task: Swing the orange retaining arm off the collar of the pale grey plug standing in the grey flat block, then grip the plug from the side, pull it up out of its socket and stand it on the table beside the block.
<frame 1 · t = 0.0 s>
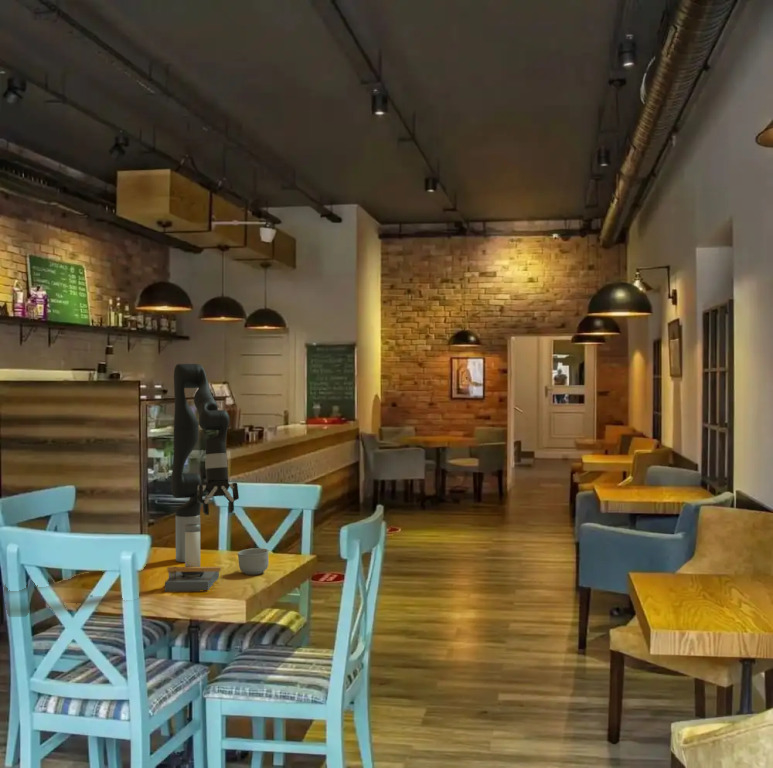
hand: (218, 513, 300), 22 cm above the table, tool pointing down, fingers open, 8 cm apart
plug: (192, 584, 292), resting in grey flat block
grey flat block: (192, 584, 292), on the table
teacup: (253, 572, 310), on the table
clip: (194, 569, 288), point 6 cm above the table, hinge at 0.0°
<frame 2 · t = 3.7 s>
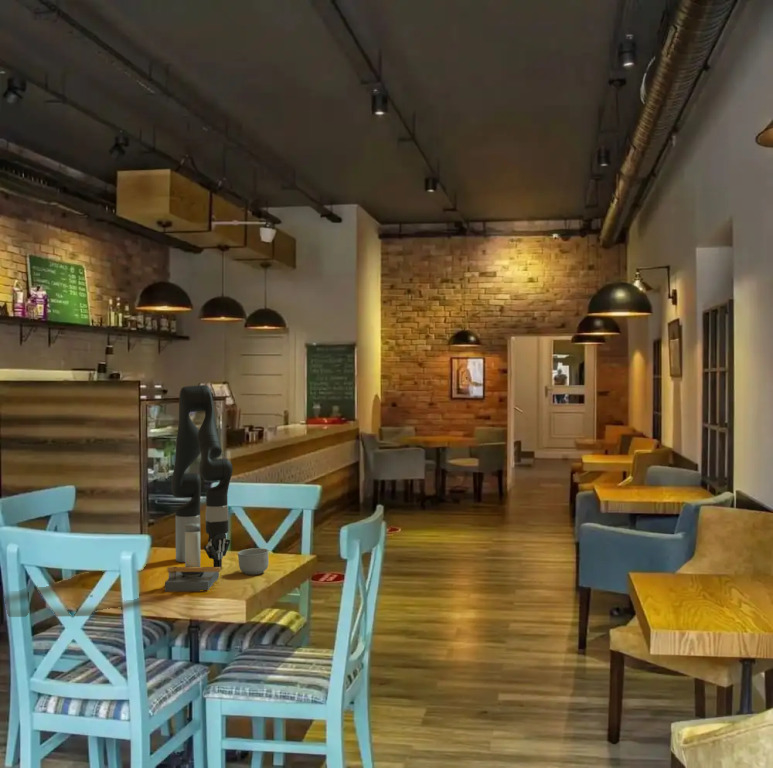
hand: (217, 570, 290), 5 cm above the table, tool pointing down, fingers closed
clip: (193, 569, 288), point 6 cm above the table, hinge at -1.3°, touching gripper
everything else where it was.
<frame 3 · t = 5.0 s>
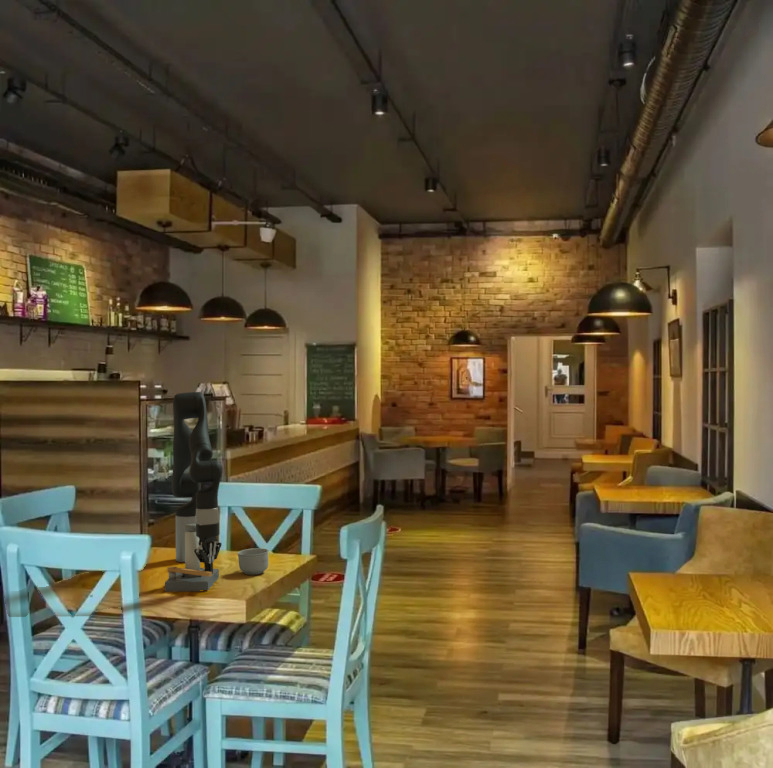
hand: (208, 574, 284), 5 cm above the table, tool pointing down, fingers closed
clip: (189, 571, 285), point 6 cm above the table, hinge at -28.8°, touching gripper
everything else where it was.
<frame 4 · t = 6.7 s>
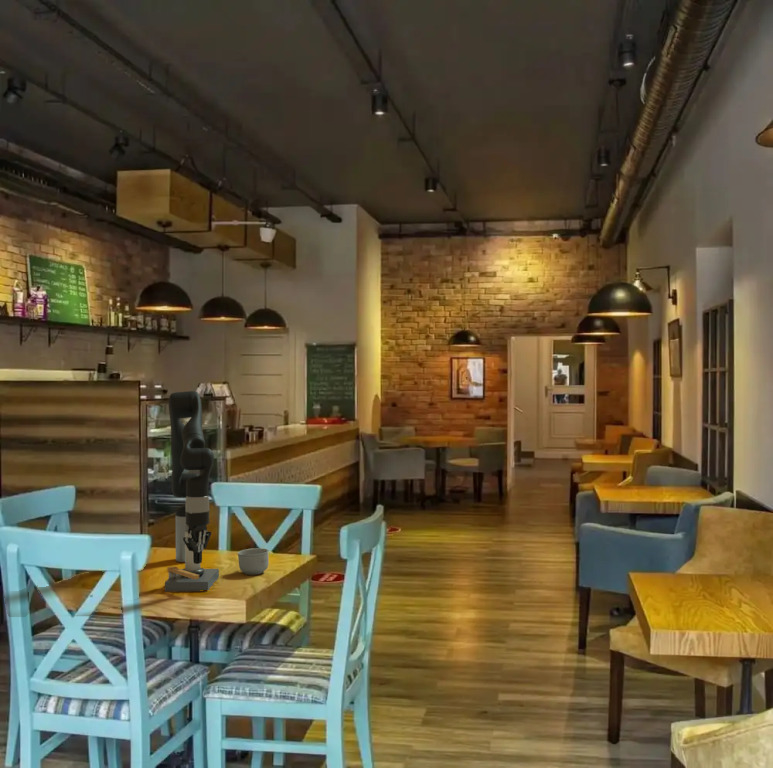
hand: (197, 563, 280), 9 cm above the table, tool pointing down, fingers closed
clip: (183, 572, 283), point 6 cm above the table, hinge at -48.9°
everything else where it was.
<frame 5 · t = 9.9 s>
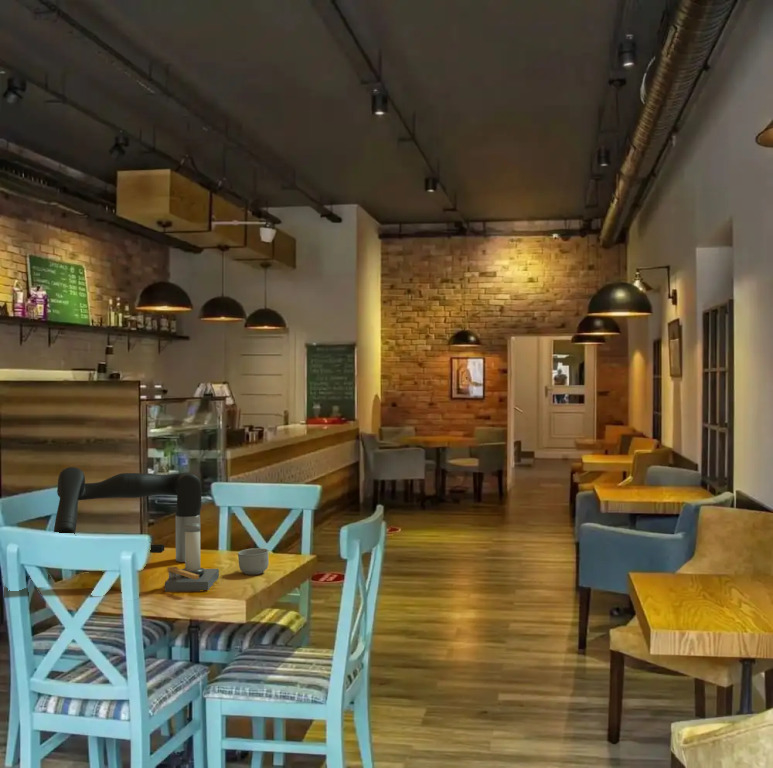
hand: (163, 548, 292), 12 cm above the table, tool horizontal, fingers closed
nothing on the table moved.
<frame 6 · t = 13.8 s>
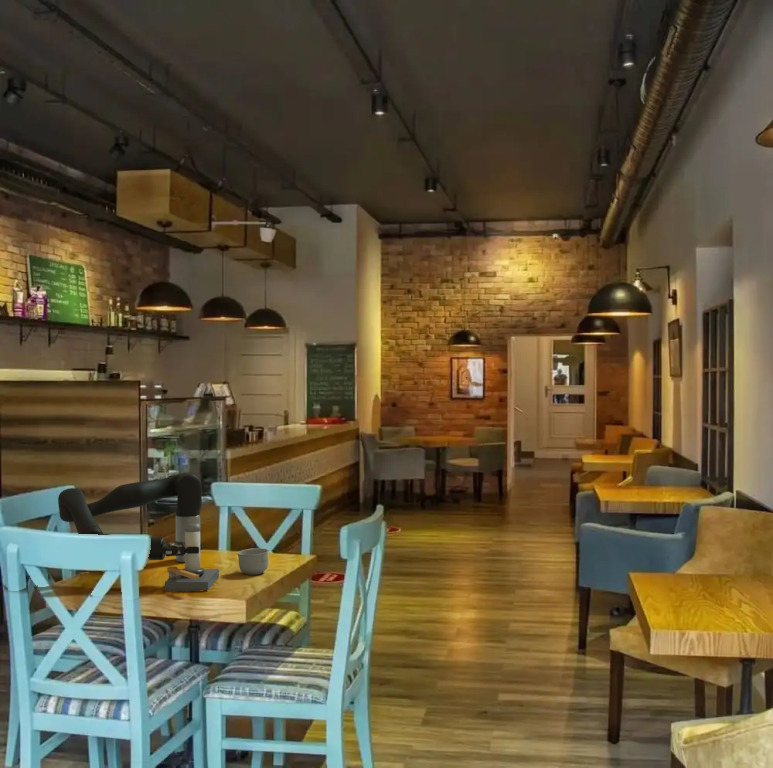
hand: (200, 548, 292), 12 cm above the table, tool horizontal, fingers closed on plug, 5 cm apart
plug: (192, 584, 292), resting in grey flat block, touching gripper
everything else where it was.
when the fingers open (13 cm above the table, at t = 19.8 s): plug stays where it is, on the table.
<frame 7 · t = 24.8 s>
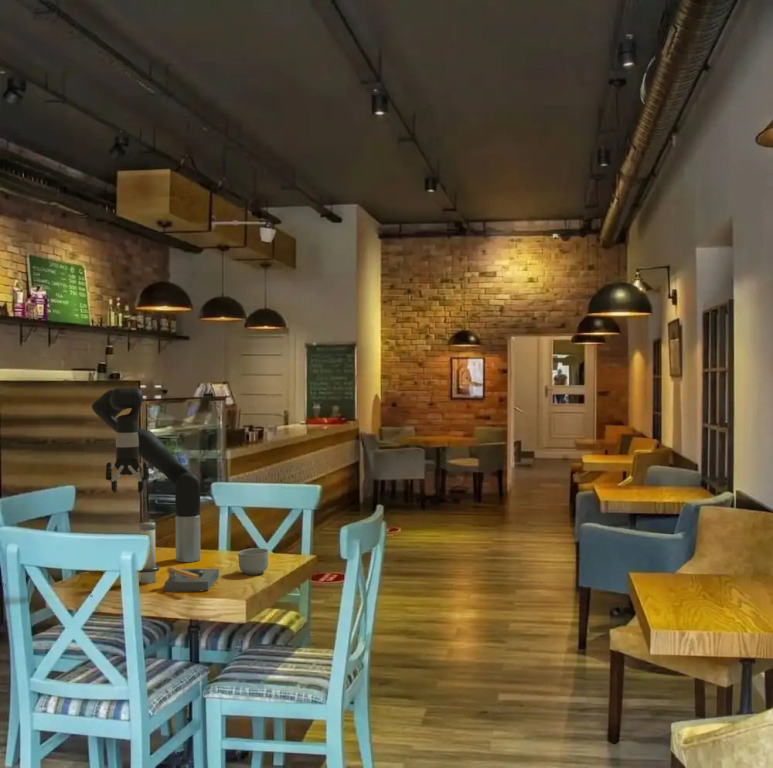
hand: (127, 492, 299), 30 cm above the table, tool pointing down, fingers open, 8 cm apart
plug: (147, 581, 296), on the table
everything else where it was.
at the end: clip at -49° (first picture: +0°); plug inside the target area (0.5 cm from its centre), on the table; plug tilted 0° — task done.
